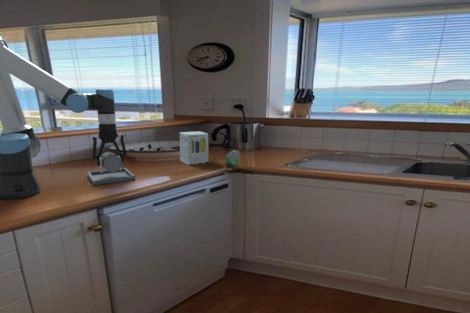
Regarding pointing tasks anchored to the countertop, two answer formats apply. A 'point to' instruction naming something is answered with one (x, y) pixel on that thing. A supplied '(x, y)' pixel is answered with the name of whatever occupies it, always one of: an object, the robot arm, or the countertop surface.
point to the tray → (110, 176)
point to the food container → (232, 160)
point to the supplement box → (193, 147)
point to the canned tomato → (111, 161)
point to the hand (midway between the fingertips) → (110, 170)
